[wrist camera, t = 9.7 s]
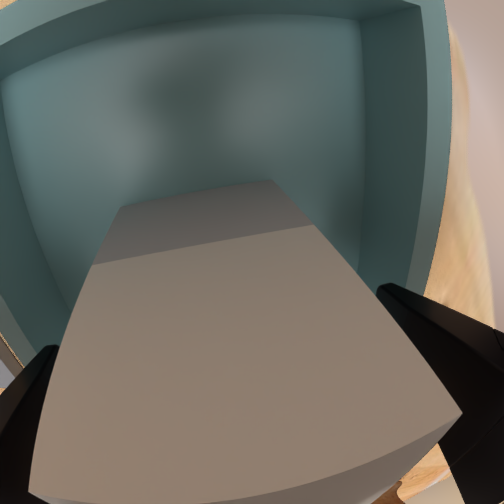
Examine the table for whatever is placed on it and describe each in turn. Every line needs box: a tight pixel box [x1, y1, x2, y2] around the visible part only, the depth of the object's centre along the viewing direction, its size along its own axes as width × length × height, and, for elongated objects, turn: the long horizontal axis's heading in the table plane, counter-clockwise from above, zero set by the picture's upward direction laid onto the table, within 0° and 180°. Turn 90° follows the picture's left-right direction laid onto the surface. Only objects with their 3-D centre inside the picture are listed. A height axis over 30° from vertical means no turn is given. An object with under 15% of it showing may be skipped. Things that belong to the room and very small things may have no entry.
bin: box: [0, 0, 452, 367], centre depth 10 cm, size 18×14×4 cm
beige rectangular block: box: [28, 180, 462, 504], centre depth 7 cm, size 5×5×9 cm
